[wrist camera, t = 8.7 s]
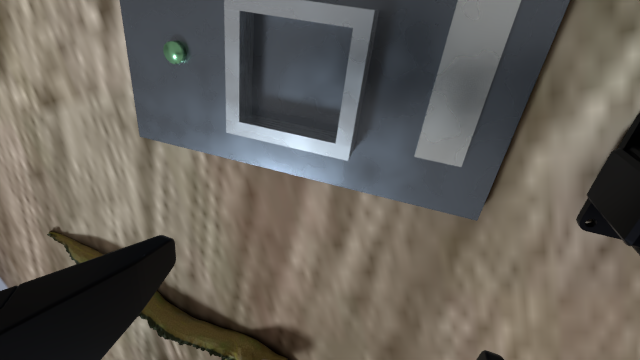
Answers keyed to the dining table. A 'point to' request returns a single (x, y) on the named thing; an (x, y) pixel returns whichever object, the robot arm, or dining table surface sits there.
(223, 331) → the toy
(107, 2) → the dining table surface
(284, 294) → the dining table surface
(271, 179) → the dining table surface
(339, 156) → the panel
